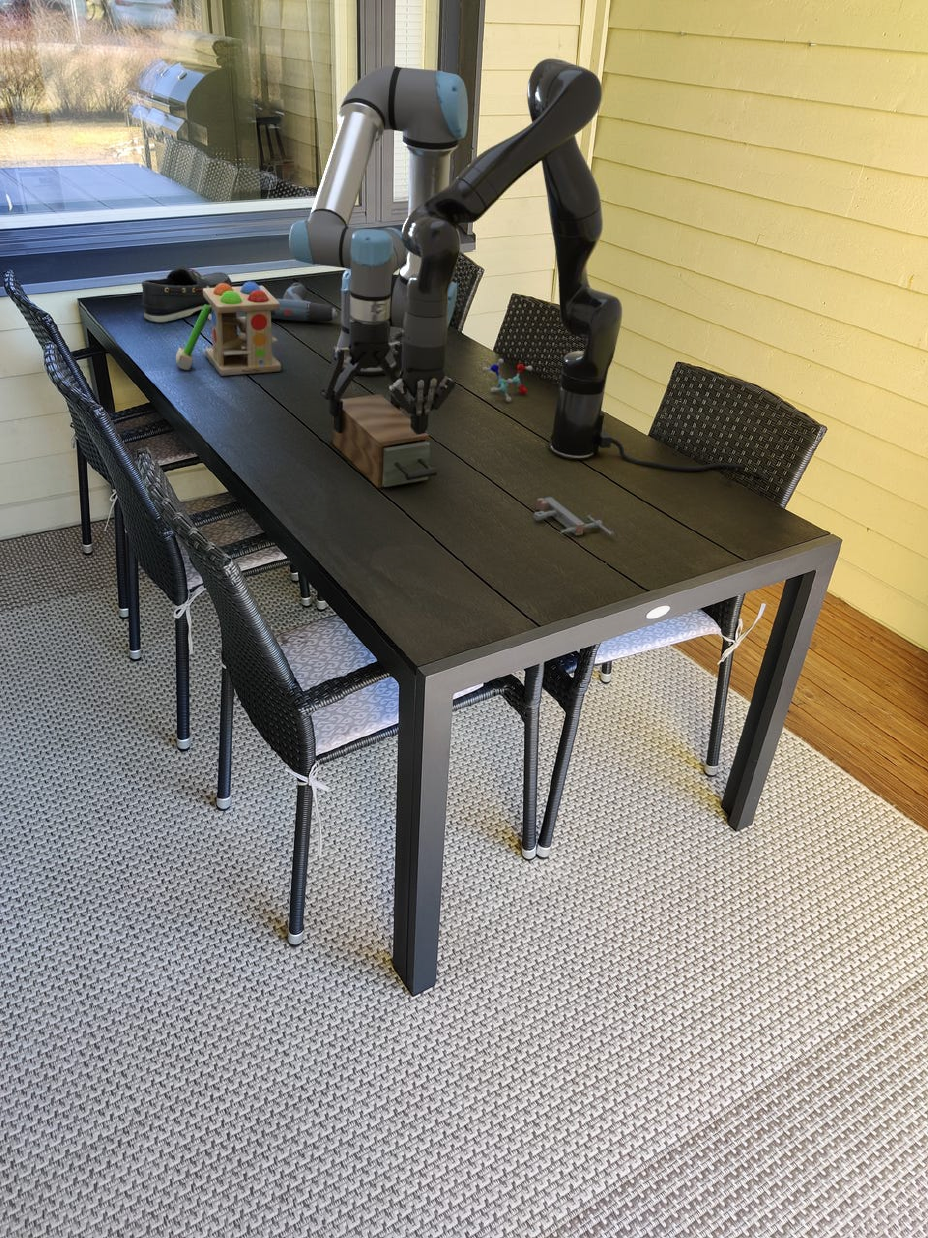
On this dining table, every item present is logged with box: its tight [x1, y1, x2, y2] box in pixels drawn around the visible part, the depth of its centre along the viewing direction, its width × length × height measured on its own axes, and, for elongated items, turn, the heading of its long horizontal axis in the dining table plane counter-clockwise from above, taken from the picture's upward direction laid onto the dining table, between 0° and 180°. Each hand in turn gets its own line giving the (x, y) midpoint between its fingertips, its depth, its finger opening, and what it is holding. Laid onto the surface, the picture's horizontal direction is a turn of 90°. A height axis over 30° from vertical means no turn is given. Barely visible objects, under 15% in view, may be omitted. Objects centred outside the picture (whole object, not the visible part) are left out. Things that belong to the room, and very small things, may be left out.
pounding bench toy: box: [174, 281, 282, 377], centre depth 225 cm, size 23×14×18 cm, turn 116°
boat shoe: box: [141, 266, 234, 323], centre depth 261 cm, size 13×33×10 cm, turn 147°
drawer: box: [382, 440, 438, 488], centre depth 188 cm, size 26×9×7 cm, turn 30°
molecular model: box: [482, 358, 533, 403], centre depth 227 cm, size 12×10×10 cm
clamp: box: [533, 496, 615, 537], centre depth 178 cm, size 15×2×10 cm
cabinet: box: [332, 393, 430, 489], centre depth 192 cm, size 21×10×9 cm, turn 30°
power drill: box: [271, 282, 338, 322], centre depth 265 cm, size 5×19×20 cm
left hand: (366, 426), depth 196 cm, fingers open, 12 cm apart
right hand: (418, 432), depth 177 cm, fingers closed
